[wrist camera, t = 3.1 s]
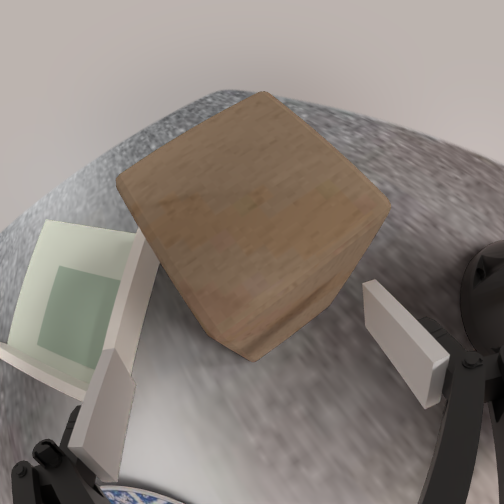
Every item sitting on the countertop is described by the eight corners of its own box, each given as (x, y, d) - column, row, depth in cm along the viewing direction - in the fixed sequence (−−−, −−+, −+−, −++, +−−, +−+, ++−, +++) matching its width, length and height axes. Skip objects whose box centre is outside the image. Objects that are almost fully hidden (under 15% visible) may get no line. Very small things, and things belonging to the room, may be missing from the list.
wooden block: (332, 303, 32) (398, 203, 14) (252, 364, 30) (212, 344, 12) (272, 232, 36) (264, 85, 17) (196, 286, 34) (109, 176, 15)
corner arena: (166, 240, 36) (151, 220, 31) (124, 407, 29) (101, 410, 25) (48, 221, 39) (28, 204, 34) (8, 352, 32) (-18, 346, 27)
